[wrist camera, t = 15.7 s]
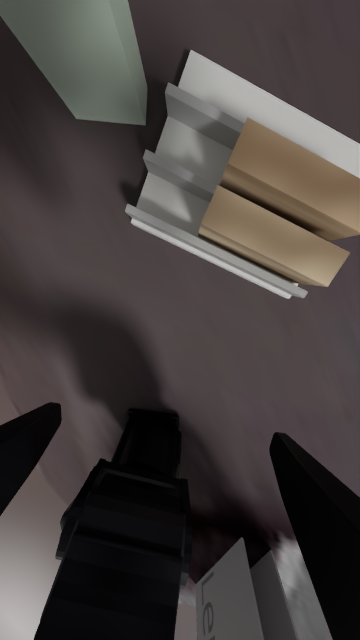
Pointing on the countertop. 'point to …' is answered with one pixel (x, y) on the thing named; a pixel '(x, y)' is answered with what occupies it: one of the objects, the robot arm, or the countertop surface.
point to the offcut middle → (293, 183)
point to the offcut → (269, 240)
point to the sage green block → (84, 54)
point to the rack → (220, 159)
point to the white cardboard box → (243, 600)
